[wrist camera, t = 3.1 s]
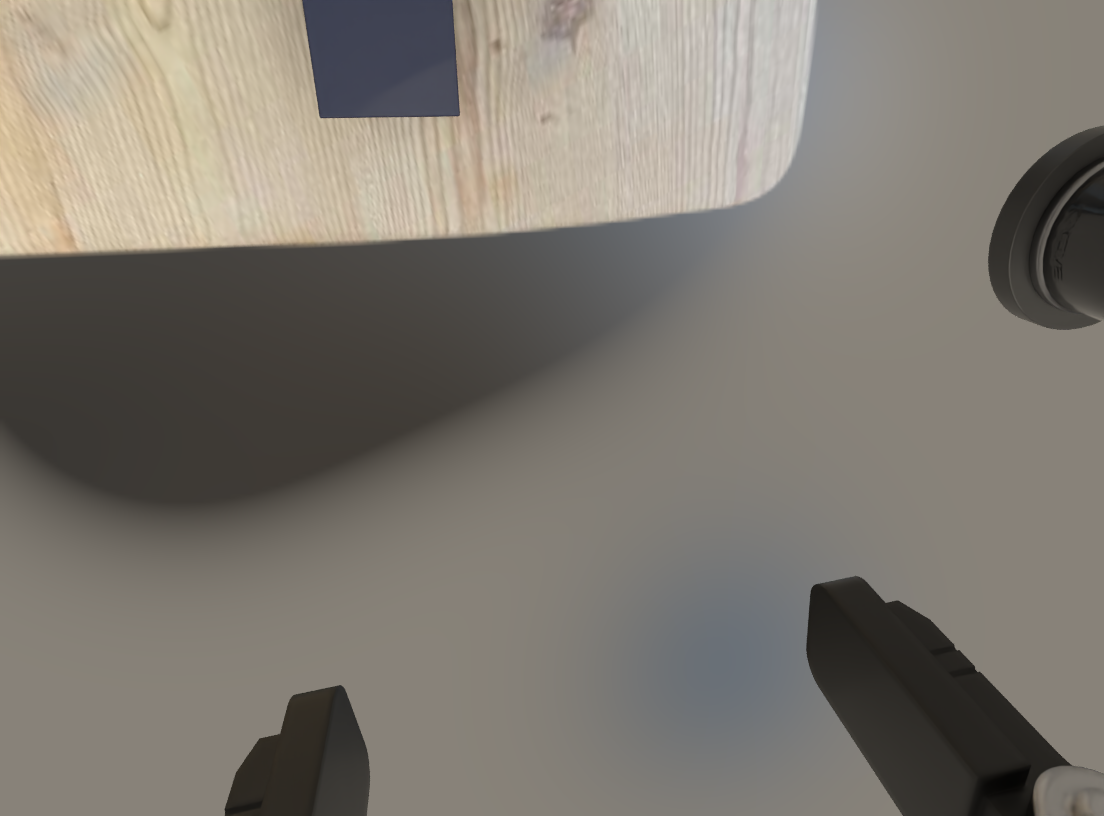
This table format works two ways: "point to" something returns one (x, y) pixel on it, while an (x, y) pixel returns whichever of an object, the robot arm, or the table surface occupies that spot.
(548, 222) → the table surface
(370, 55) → the navy block
